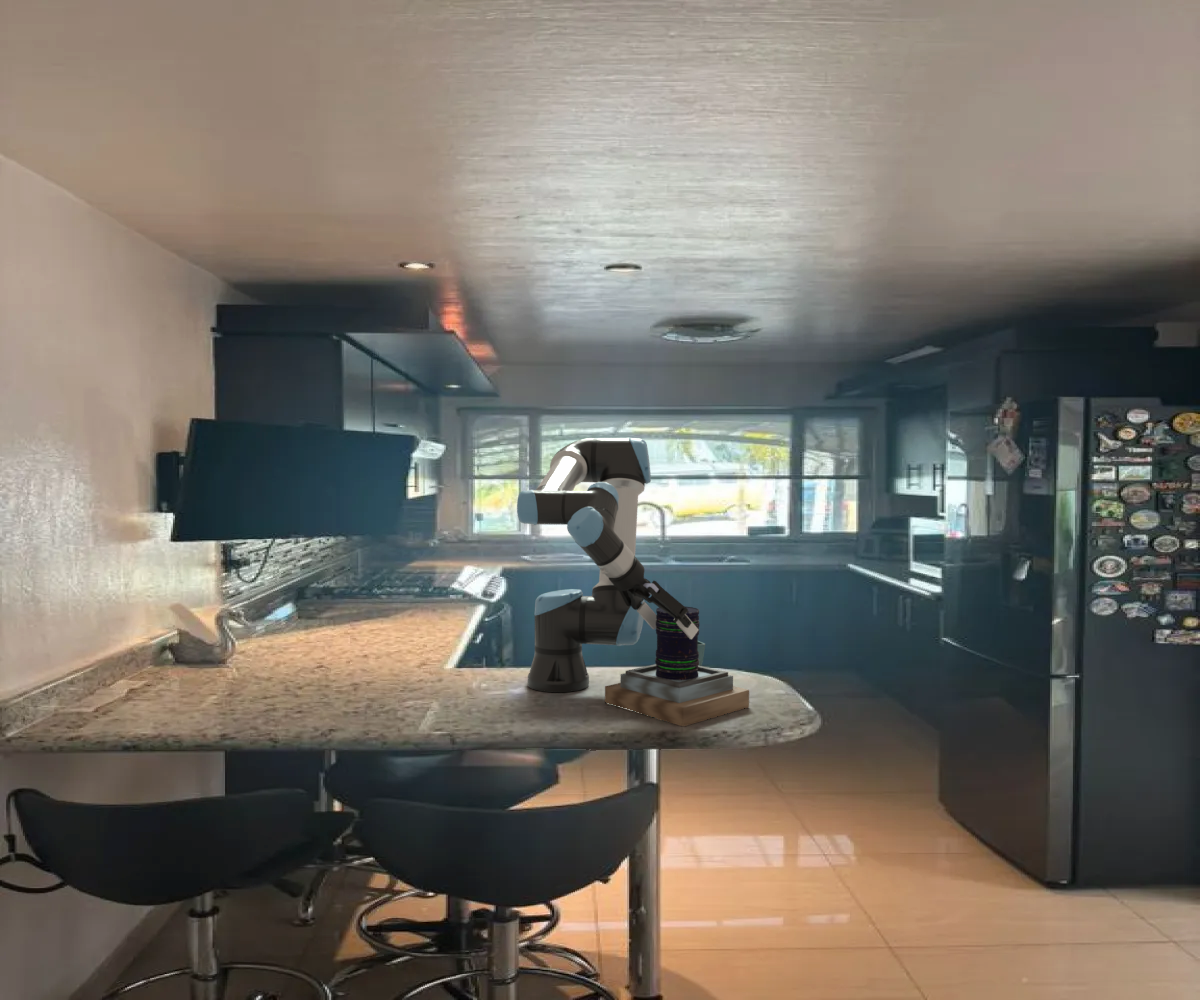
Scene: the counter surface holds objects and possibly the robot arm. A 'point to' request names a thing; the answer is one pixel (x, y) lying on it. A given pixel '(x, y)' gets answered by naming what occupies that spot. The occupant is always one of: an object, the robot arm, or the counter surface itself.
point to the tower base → (679, 708)
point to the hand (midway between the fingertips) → (675, 629)
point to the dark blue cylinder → (676, 647)
